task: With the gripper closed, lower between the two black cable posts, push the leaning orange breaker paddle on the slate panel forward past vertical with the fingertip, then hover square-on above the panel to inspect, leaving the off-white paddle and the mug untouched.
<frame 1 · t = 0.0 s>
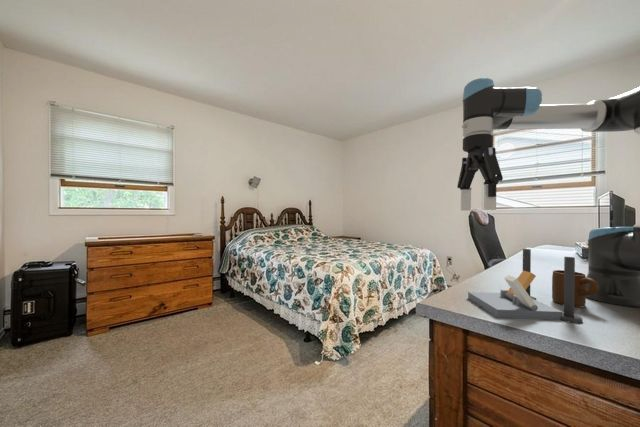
hand: (476, 210, 77), 28 cm above the table, fingers open, 13 cm apart
post b: (568, 319, 70), on the table
paddle a: (519, 286, 79), point 6 cm above the table, hinge at -35.0°
panel: (510, 307, 78), on the table
mug: (575, 306, 80), on the table
post a: (526, 299, 86), on the table
paddle b: (520, 293, 71), point 6 cm above the table, hinge at 35.0°
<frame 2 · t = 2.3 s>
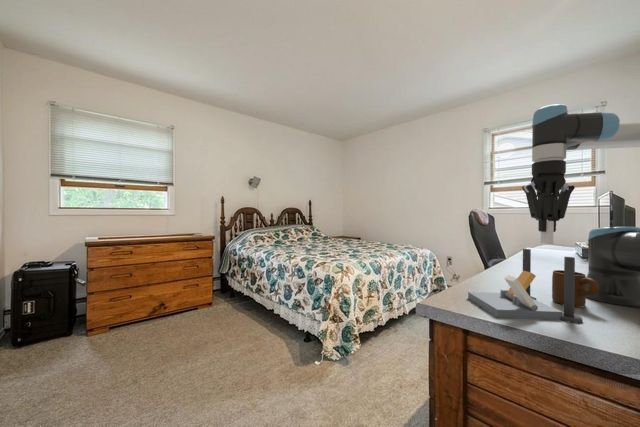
hand: (546, 243, 78), 19 cm above the table, fingers closed
nothing on the table moved.
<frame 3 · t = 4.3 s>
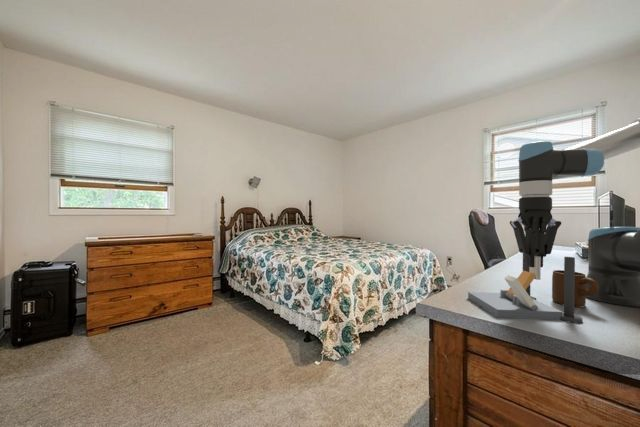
hand: (534, 278, 78), 9 cm above the table, fingers closed
paddle a: (519, 286, 79), point 6 cm above the table, hinge at -35.0°, touching gripper
everything else where it was.
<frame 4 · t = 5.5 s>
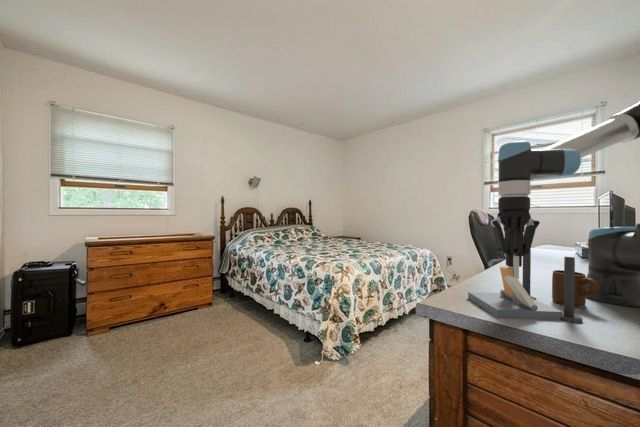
hand: (513, 277, 78), 9 cm above the table, fingers closed
paddle a: (509, 283, 79), point 7 cm above the table, hinge at 11.3°, touching gripper
everything else where it was.
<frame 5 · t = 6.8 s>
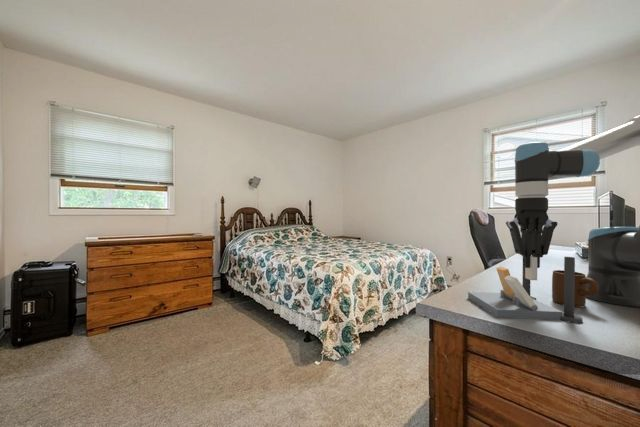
hand: (531, 279, 78), 8 cm above the table, fingers closed
paddle a: (507, 283, 79), point 7 cm above the table, hinge at 18.6°
everything else where it was.
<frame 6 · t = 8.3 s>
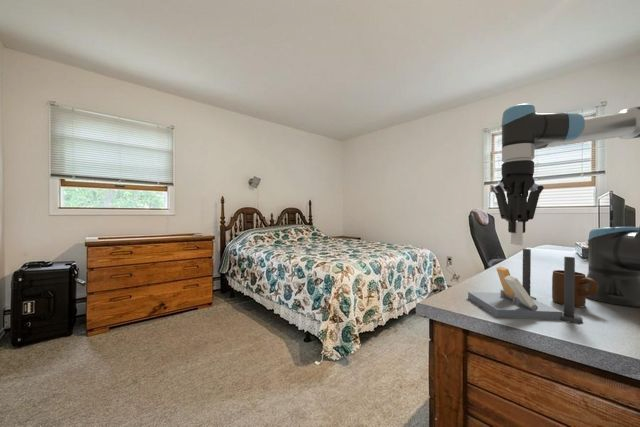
hand: (516, 244, 77), 18 cm above the table, fingers closed
nothing on the table moved.
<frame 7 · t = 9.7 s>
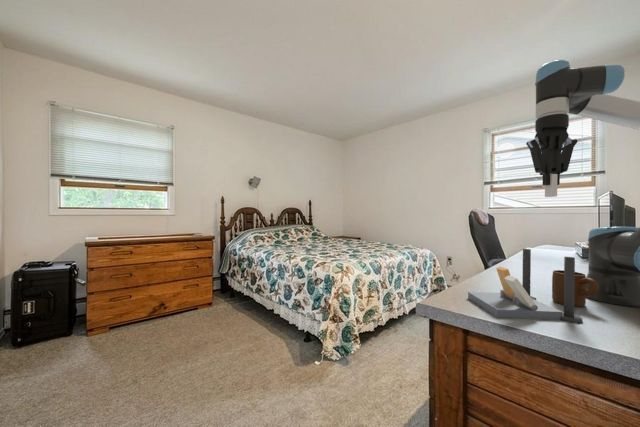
hand: (550, 196, 80), 32 cm above the table, fingers closed
nothing on the table moved.
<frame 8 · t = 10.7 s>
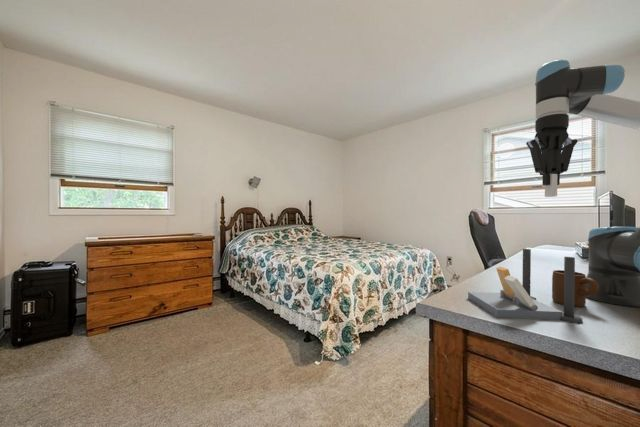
hand: (550, 196, 80), 32 cm above the table, fingers closed
nothing on the table moved.
at the end: paddle a at +19° (first picture: -35°); paddle b at +35° (first picture: +35°); mug moved 0.2 cm from its start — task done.
